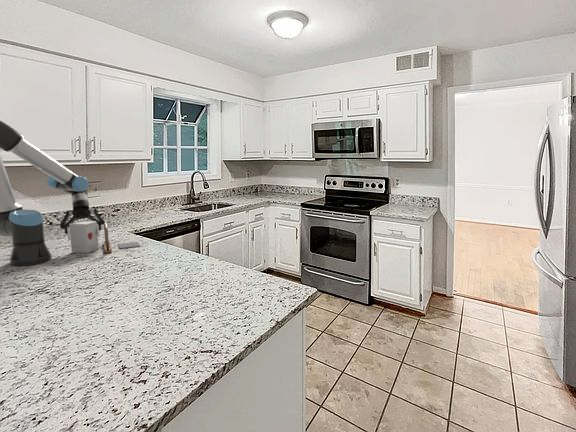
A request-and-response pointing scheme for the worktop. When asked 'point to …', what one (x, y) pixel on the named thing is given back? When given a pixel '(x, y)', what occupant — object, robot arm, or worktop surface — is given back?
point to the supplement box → (84, 236)
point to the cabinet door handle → (106, 240)
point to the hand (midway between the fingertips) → (84, 237)
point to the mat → (129, 245)
